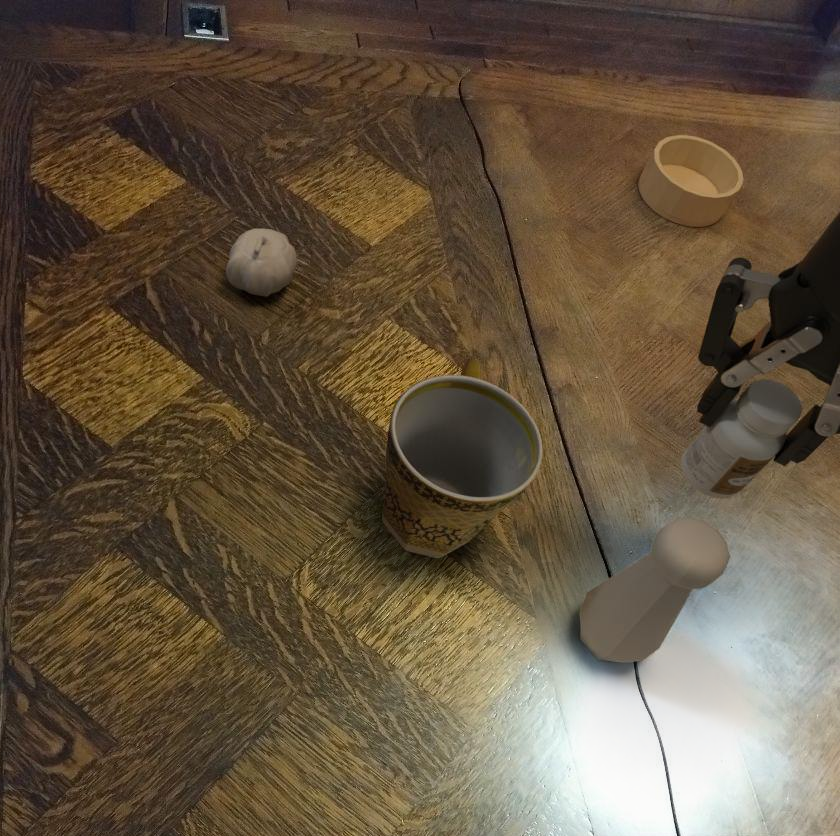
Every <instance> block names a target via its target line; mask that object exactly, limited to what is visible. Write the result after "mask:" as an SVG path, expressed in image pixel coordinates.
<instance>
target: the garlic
mask: <svg viewBox="0 0 840 836" xmlns="http://www.w3.org/2000/svg"><path fill="white" fill-rule="evenodd" d="M296 266H297V251H296V249H295V247H294V246H292V244H291V243H290V242H289V238H288V236H287V235H286V234H284V233H282V232H279V231H276V230H274V229H270V228H261V227H260V228H256V227H255V228H252V229H249V230H246V231H245V232H243V233H242V234H240V235H239V236H238V237H237V239H236V240H235V242H234V244H232V245H231V248H230V251H229V260H228V262H227V265H226V266H225V267H226V268H225V275H226V278H227V280H228V282H229V283H230V285H232V286H233V287H234V288H236V289H238V290H241V291H245V292H247V293H248V294H250V295H253V296H254V295H255V296H260V297H265V298H266V297H269V296H270V295H271V294H275V293H278V292H280V291H281V290H283V288H285V287H288V286H289V285H290V284H291V281H292V279H293V278H292V277H293V275H294V272H295V271H296Z"/></svg>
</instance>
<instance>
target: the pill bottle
mask: <svg viewBox="0 0 840 836" xmlns="http://www.w3.org/2000/svg"><path fill="white" fill-rule="evenodd" d="M802 412H803V407H802V403H801V400H800V398H799V397H798V395H797V394H796V392H795V391H794V390H792V389H791V388H790V387H789V386H788V385H786V384H784V383H783V382H780V381H777V380H775V379H770V378H761V379H757V380H755V381H752V382H751V383H750V384H749V385H748V386H747V388H746V389H745V390H744V391H743V392H742V393H741V394H740V395H739V397H738V398H734V399H733V400H732V401H731V402H730V404H729V405H728V406H727V407H726V408H725V410H724V411H723V412H722V413H721V414H720V416H719V417H718V418H717V419H716V420H715V422H714V423H713V424H712V425H711V426H710V427H708V426H706V425H704V426H705V427H703V429H702V430H701V431H700V433H698V435H697V436H696V437H695V438H694V440H693V441H691V443H690V444H689V446H687V448H686V449H685V450H684V451H683V454H682V456H681V459H680V468H681V471H682V475H683V477H684V479H685V480H686V481H687V482H688V484H689V485H690V486H691V487H692V488H693V489H694V490H696V491H697V492H698V493H700V494H702V495H704V496H706V497H709V498H711V499H718V500H725V499H726V500H727V499H731V498H733V497H736V496H737V495H738V494H740V493H741V492H742V491H743V490H744V489H745V488H746V487H747V486H748V484H750V483H751V481H752V480H753V479H755V478H756V476H757V475H758V474H759V473H760V472H761V471H762V470H763V469H764V468H765V467H766V466H767V465H768V464H769V463H770V462H771V461H772V460H774V458H775V456H776V454H777V453H778V452H779V451H780V450H781V449H782V448H783V446H784V444H785V441H786V435H787V433H788V431H790V430H791V429H792V427H794V426H795V425H796V422H798V420H800V417H801V416H802Z"/></svg>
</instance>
